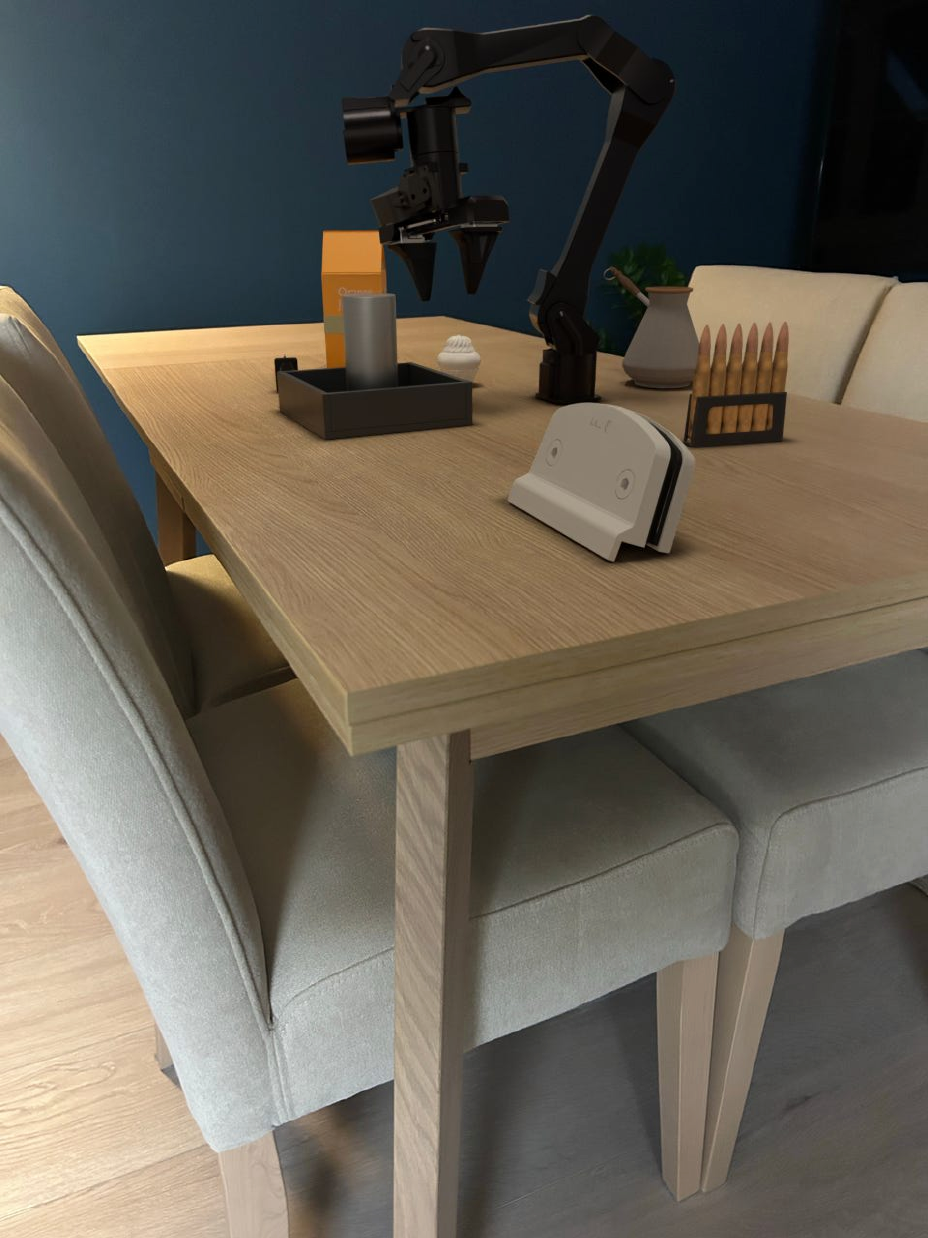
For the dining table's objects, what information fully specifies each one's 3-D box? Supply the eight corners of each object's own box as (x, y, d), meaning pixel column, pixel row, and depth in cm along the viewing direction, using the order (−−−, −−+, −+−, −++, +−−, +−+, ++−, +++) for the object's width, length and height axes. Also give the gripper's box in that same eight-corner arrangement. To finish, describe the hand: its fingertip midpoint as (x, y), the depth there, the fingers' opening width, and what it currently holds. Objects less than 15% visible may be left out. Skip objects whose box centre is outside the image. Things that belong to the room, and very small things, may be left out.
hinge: (505, 499, 78) (544, 381, 76) (551, 511, 80) (591, 398, 78) (610, 561, 64) (663, 420, 62) (663, 574, 66) (716, 438, 64)
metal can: (387, 404, 114) (383, 292, 109) (406, 413, 109) (403, 295, 104) (340, 408, 112) (334, 293, 107) (358, 417, 107) (352, 297, 102)
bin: (412, 399, 122) (411, 361, 120) (472, 424, 107) (472, 381, 105) (279, 411, 114) (276, 371, 113) (325, 439, 100) (322, 394, 98)
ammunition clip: (773, 437, 101) (788, 320, 96) (783, 440, 99) (798, 322, 94) (682, 443, 98) (693, 323, 93) (691, 447, 96) (702, 325, 92)
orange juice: (385, 375, 140) (380, 230, 132) (326, 375, 141) (317, 230, 133) (389, 367, 148) (385, 229, 140) (333, 367, 148) (326, 229, 140)
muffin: (430, 387, 130) (429, 335, 127) (446, 380, 135) (446, 330, 132) (472, 390, 128) (472, 337, 125) (487, 383, 133) (487, 332, 130)
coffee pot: (720, 387, 130) (732, 271, 124) (650, 393, 125) (659, 274, 119) (635, 366, 148) (642, 265, 142) (571, 371, 143) (575, 266, 137)
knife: (296, 397, 116) (294, 360, 114) (271, 397, 115) (268, 360, 114) (302, 384, 145) (301, 354, 143) (283, 384, 144) (281, 354, 143)
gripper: (334, 170, 111) (351, 308, 116) (425, 135, 97) (440, 294, 101) (410, 172, 118) (423, 303, 122) (507, 140, 103) (517, 289, 108)
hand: (448, 298), depth 113 cm, fingers open, 9 cm apart
